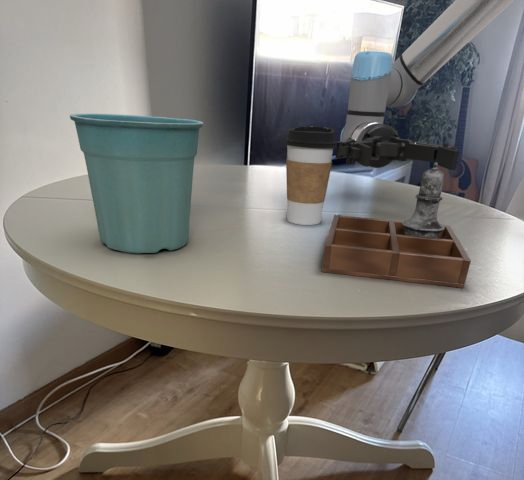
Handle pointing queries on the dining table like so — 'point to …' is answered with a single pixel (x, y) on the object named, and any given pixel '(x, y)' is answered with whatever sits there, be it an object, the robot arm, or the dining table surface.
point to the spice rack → (393, 253)
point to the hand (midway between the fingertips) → (412, 158)
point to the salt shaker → (426, 206)
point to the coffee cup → (308, 172)
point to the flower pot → (139, 178)
